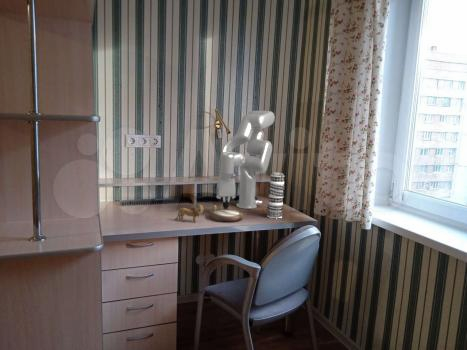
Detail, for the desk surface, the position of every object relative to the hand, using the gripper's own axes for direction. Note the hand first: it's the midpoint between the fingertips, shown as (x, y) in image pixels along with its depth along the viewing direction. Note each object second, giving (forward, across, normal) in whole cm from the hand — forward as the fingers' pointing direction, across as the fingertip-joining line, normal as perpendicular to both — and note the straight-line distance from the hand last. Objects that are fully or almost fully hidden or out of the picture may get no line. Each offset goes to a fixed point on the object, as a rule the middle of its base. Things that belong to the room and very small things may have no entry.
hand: (225, 208), depth 206 cm
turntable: (+3, +2, +7) cm, 8 cm away
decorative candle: (+4, -26, +8) cm, 28 cm away
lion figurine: (+3, +22, +11) cm, 25 cm away
